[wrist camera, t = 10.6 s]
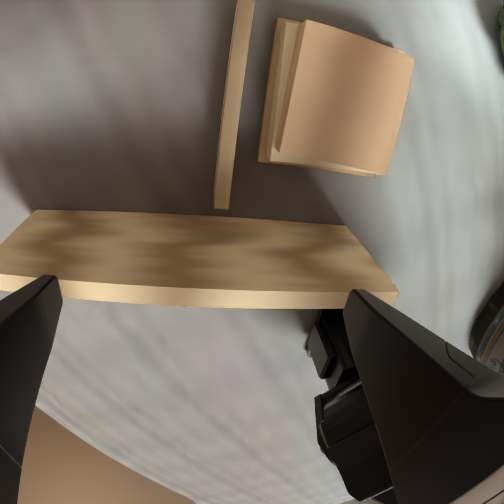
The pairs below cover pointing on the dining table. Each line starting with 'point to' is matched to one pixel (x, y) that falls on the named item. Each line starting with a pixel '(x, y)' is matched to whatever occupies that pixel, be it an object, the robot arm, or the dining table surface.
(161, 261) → the rack
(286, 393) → the dining table surface
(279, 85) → the offcut middle
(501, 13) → the vegetable
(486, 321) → the beer stein
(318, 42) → the offcut top
